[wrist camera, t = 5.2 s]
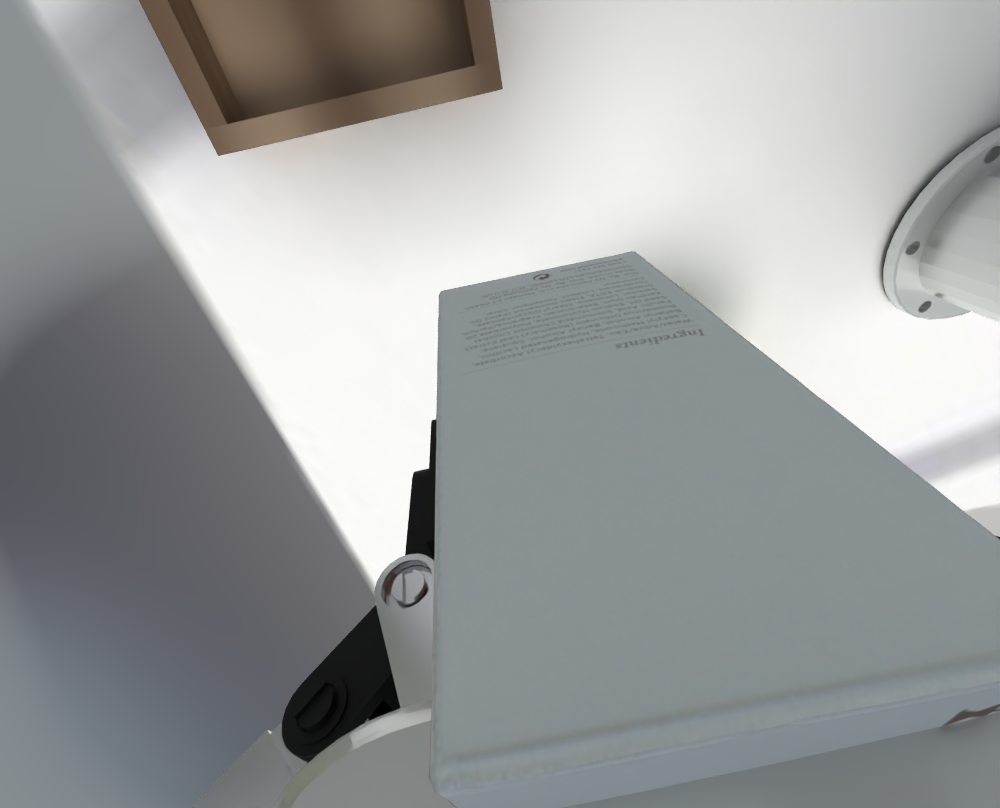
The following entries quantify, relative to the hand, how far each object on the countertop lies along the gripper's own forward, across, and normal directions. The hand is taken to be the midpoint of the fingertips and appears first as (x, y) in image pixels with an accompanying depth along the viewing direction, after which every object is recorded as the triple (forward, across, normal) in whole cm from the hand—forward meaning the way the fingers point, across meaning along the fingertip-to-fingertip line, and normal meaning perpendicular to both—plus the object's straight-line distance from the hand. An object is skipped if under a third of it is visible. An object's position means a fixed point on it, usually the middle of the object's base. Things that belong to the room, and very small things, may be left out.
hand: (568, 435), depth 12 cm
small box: (+3, 0, 0) cm, 3 cm away
